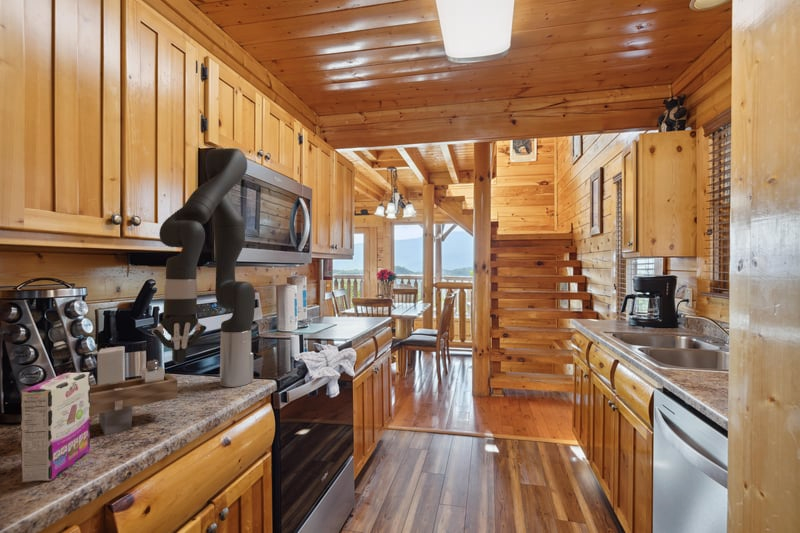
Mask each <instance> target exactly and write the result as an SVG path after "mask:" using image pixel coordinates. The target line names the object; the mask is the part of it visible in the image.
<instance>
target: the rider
mask: <svg viewBox="0 0 800 533" xmlns="http://www.w3.org/2000/svg"><path fill="white" fill-rule="evenodd" d="M159 362H160V361H159V360H158V359H156V360H153V359H152V360H149V361H147V362H146V363H147V364H146V368H142V369H141V378H142V379H141V385H143V384H149V383H154V382H160V381H164V374H165V369H164V368H162V367H161V366H159V364H160V363H159Z"/></svg>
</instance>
